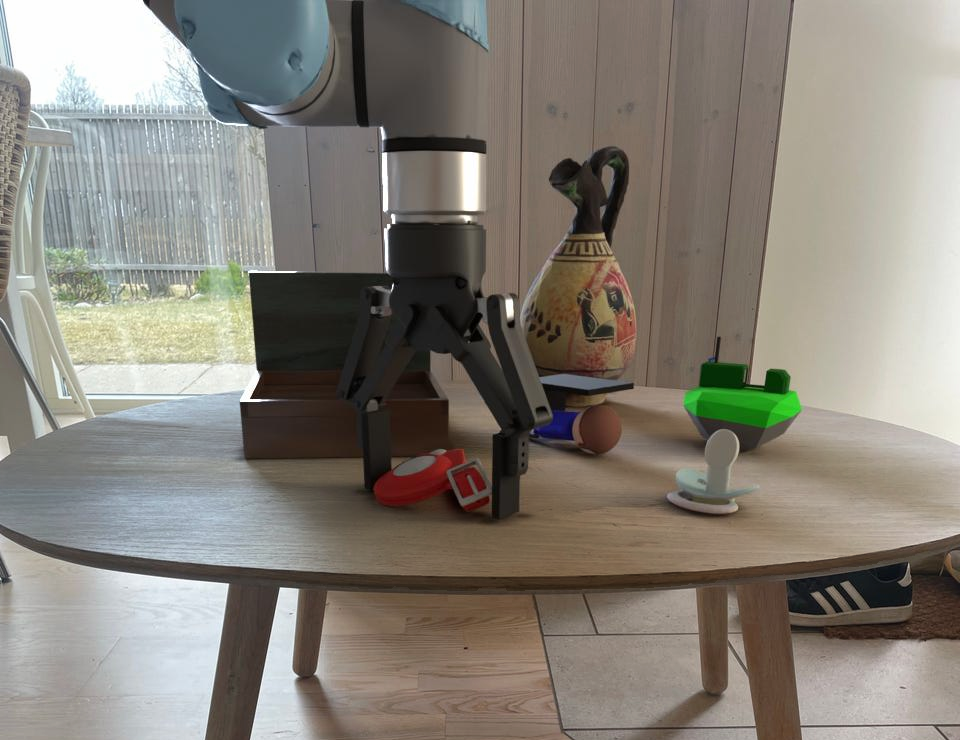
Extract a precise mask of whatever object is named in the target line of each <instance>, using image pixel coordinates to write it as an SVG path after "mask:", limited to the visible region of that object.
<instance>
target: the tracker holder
mask: <svg viewBox="0 0 960 740" xmlns="http://www.w3.org/2000/svg"><path fill="white" fill-rule="evenodd" d="M475 466H476V467H477V468H476V467H475ZM448 490H453V492H454V494H455V496H456V498H457V500H458V503H459V505H460V506H461V508H462V509H463V510H464V511H465V512H468V513H469V512H472V511H475V510H478V509H480V508H482V507H484V506H486V505H489V503H490V496H492V483H491V482H490V480H489V477H488V476H487V474H486V472H485V470H484V467H483V465H482V463H481V461H480V459H479V457H475V458H473V459H470V460H468V461H466V456H465V451H464V449H463V448H459V449H457V448H456V449H449V451H446V450H444V449H438V450H435V451H432V452H431V453H425V454H420V455H417V456H412V457H411V458H409V459H405V460H404V461H402V462H401V463H398V465H396V466H394V468H392V470H390V471H389V472H387V473H386V474H384V475H383V476H382V477H380V478H379V479H378V480H377V482H376V483H375V485H374V490H373V493H374V497H375V499H376V501H377V502H378V503H380V504H382V505H383V506H390V507H392V506H393V507H396V506H397V507H398V506H405V505H406V506H407V505H412V504H415V503H419V502H423V501H425V500H428V499H431V498H434V497H436V496H438V495H441V494H442V493H444V492H446V491H448Z"/></svg>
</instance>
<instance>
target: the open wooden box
mask: <svg viewBox="0 0 960 740" xmlns="http://www.w3.org/2000/svg"><path fill="white" fill-rule="evenodd" d="M248 282H249V293H250V305H251V319H252V331H253V343H254V354H255V355H254V356H255V368H256V371H255V373H254V375H253V376H252V377H251V380H250V382H249V384H248V386H247V387H246V389H245V391H244V393H243V395H242V396H241V398H240V401H239V411H240V422H241V432H242V434H241V435H242V444H243V455H244V457H243V458H244V459H245V460H246V459H249V460H250V459H312V458H314V459H315V458H363V448H360V446H359V443H358V432H357V430H358V429H357V413H356V410H355V409H354V408H353V405H352V404H350V403H349V402H347V401H341V400H339V399H338V397H337V394H336V391H337V387H338V384H339V381H340V377H341V374H342V371H343V368H344V365H345V361H346V358H347V355H348V352H349V348H350V345H351V342H352V339H353V335H354V332H355V329H356V326H357V323H358V319H359V316H360V293H361V290H362V288H364V287H373V286H388V287H390V289H391V291H392V287H393V278H392V276H390V275H389V274H388V273H387V272H367V271H366V272H365V271H364V272H363V271H362V272H361V271H359V272H358V271H357V272H355V271H354V272H353V271H338V272H337V271H274V270H273V271H271V270H270V271H266V270H265V271H264V270H263V271H261V270H259V271H258V270H250V271H248ZM396 321H397V320H396V318H395V316H394V314H393V313H392V314H391V317H390V322H389V326H388V329H387V332H386V335H385V338H384V341H383V344H382V347H381V350H380V353H379V355H380V354H381V352H382V350H383V349H384V347H385V345H386V343H385V339H386V337H387V336H388V334H389V332H390V331H391V329H392V327H393V326H394V324H395V323H396ZM431 352H432V351H431V350H428V351H416V352H415V353H414V355H413V356H412V358H411V359H410V361H409V363H408V364H407V366H406V367H405V369H404V370H403V372H402V373H401V375H400V377H399V378H398V380H397V381H396V383H395V384H394V386H393V387H392V389H391V391H390V392H389V394H388V395H387V397H386V398H385V400H384V401H385V402H384V403H382V404H385V403H386V404H387V405H386V406H382V407H378V410H379V409H389V410H390V434H391V457H415V456H417V455H420V454H425V453H431V452H432V451H435V450H438V449H444V450H446V451H449V450H450V434H449V433H450V432H449V431H450V400H449V398H448V397H447V394H446V393H445V392H444V390H443V388H442V387H441V384H440V382H439V381H438V380H437V378H436V376H435V375H434V373H433V372H432V370H431V368H432V366H431V365H432V364H431V361H432V360H431V358H432V357H431V356H432V355H431ZM378 357H379V356H378Z"/></svg>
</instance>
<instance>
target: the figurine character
mask: <svg viewBox="0 0 960 740" xmlns="http://www.w3.org/2000/svg"><path fill="white" fill-rule="evenodd" d="M539 378H540V381H541V383H542V386H543V389H544V392H545V395H546V397H547V400H548V403H549V406H550V409H551V411H552V414H553V420H552V422H551V423H550V424H549V425H545V426H542V427H539V428H535V429H533V430H532V432H530V434H529V439H530V438H531V439H539V438H540V437H541V438H543V439H550V440H551V439H552V440H560V441H570V442H575V444H576V446H577V447H578V448H579V449H580V450H581V451H583V452H584V453H586V454H590V455H603V454H605V453H608V452H609V451H611V450H613V449H614V448H615V447H616V446H617V445H618V443H619V442H620V440H621V437H622V433H623V432H622V431H623V424H622V420H621V418H620V416H619V415H618V413H617V412H616V411H615V410H614V409H612V408H611V407H610V406H607V405H603V404H598V405H588V406H586V407H585V408H583V409H582V410H581V411H572V410H566V407H567V406H566V393H571V394H578V395H585V396H592V395H598V394H605V393H608V394H611V393H617V392H622V391H629V390H634V389H635V387H634V386H635V383H634V382H630V381H622V380H617V381H616V380H608V379H600V378H592V377H584V376H576V375H568V374H558V375H551V376H544V377H539Z"/></svg>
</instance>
